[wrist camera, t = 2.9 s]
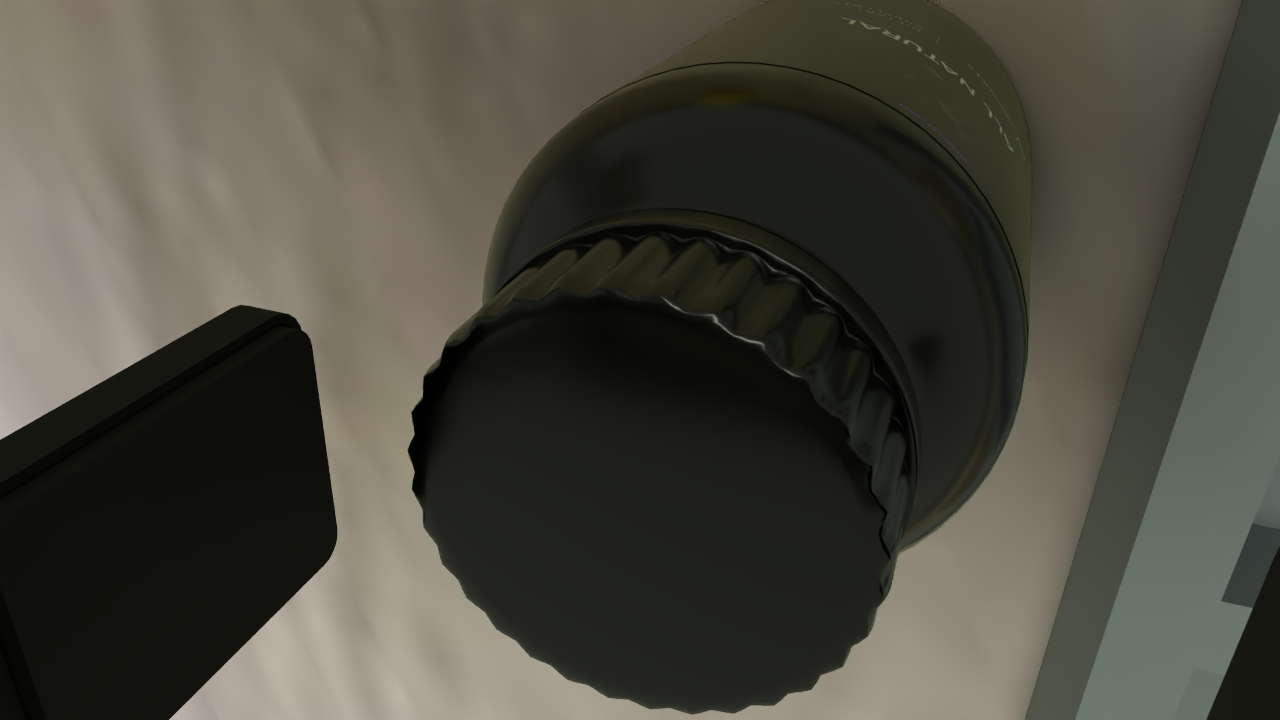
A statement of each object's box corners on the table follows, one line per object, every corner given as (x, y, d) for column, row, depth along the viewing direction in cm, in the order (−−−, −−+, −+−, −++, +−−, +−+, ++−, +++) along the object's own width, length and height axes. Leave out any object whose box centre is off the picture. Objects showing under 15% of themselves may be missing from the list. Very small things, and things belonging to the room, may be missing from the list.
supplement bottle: (1059, -26, 17) (1115, 203, 7) (1004, 342, 20) (986, 876, 10) (665, -27, 19) (249, 146, 9) (672, 306, 22) (373, 716, 12)
